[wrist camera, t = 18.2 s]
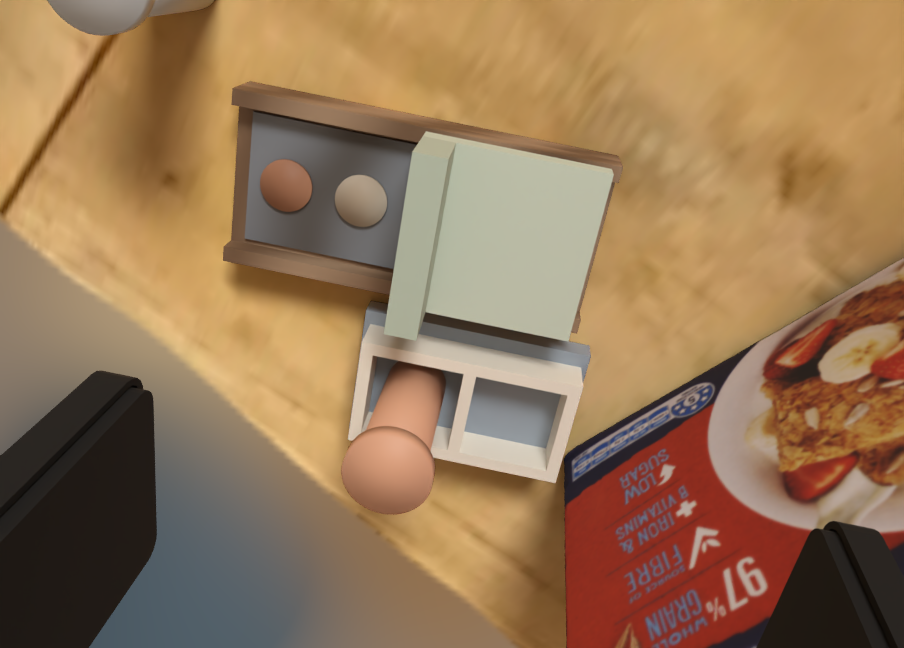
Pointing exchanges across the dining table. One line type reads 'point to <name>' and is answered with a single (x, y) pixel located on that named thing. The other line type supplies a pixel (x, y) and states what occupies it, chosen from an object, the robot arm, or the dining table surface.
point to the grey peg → (118, 13)
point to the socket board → (482, 390)
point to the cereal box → (739, 480)
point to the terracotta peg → (397, 442)
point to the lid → (494, 237)
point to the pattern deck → (341, 183)
